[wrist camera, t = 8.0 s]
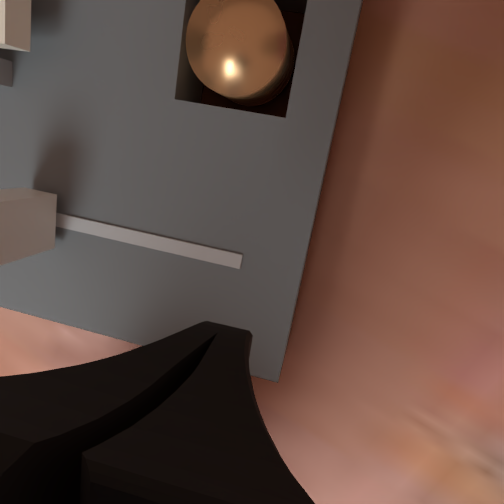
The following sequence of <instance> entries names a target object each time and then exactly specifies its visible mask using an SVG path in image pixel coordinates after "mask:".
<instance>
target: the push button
mask: <svg viewBox="0 0 504 504" xmlns="http://www.w3.org/2000/svg"><path fill="white" fill-rule="evenodd" d="M186 51H187V56H188V60H189V63H190V65H191V68H192V69H193V71H194V73H195V74H196V76H197V77H198V78H199V80H200V81H201V82H202V83H203V84H204V85H206V86H207V87H208V88H210V89H212V90H213V91H215V92H217V93H219V94H221V95H222V96H224V97H226V98H228V99H229V100H231V101H233V102H235V103H237V104H240V105H244V106H257V105H261V104H264V103H267V102H269V101H271V100H272V99H274V98H275V97H276V96H277V95H279V94H280V93H281V91H282V90H283V89H284V88H285V86H286V85H287V83H288V81H289V79H290V77H291V74H292V71H293V67H294V49H293V45H292V41H291V39H290V36H289V33H288V30H287V28H286V25H285V22H284V20H283V17H282V14H281V12H280V10H279V8H278V6H277V4H276V3H275V2H274V0H200V2H199V3H198V4H197V6H196V7H195V9H194V11H193V12H192V15H191V17H190V19H189V23H188V26H187V31H186Z"/></svg>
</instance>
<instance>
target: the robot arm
mask: <svg viewBox="0 0 504 504" xmlns="http://www.w3.org/2000/svg"><path fill="white" fill-rule="evenodd" d="M252 338H253V335H252V334H251V332H250V331H249V330H245V329H240V328H236V327H231V326H227V325H223V324H218V323H214V322H210V321H204V322H201V323H198V324H196V325H193V326H191V327H189V328H186V329H184V330H182V331H179V332H177V333H175V334H172V335H170V336H168V337H165V338H163V339H160V340H158V341H155V342H153V343H150V344H147V345H144V346H142V347H139V348H136V349H134V350H131V351H128V352H125V353H122V354H119V355H116V356H112V357H109V358H105V359H101V360H97V361H93V362H89V363H85V364H81V365H76V366H70V367H65V368H59V369H54V370H48V371H43V372H37V373H29V374H21V375H13V376H3V377H0V504H315V503H314V502H313V501H312V499H311V498H310V497H309V495H308V494H307V493H306V492H305V490H304V489H303V488H302V486H301V485H300V484H299V483H298V481H297V480H296V479H295V478H294V476H293V475H292V474H291V472H290V470H289V469H288V467H287V466H286V464H285V463H284V461H283V459H282V458H281V456H280V454H279V452H278V450H277V448H276V446H275V444H274V442H273V440H272V439H271V437H270V435H269V433H268V431H267V429H266V426H265V424H264V421H263V419H262V416H261V414H260V411H259V408H258V405H257V402H256V398H255V395H254V391H253V386H252V382H251V376H250V369H249V356H250V350H251V344H252Z"/></svg>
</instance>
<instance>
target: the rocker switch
mask: <svg viewBox="0 0 504 504" xmlns="http://www.w3.org/2000/svg"><path fill="white" fill-rule="evenodd" d="M30 38H31V0H0V48H3V49H11V50H19V51H27V52H30Z"/></svg>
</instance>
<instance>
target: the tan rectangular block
mask: <svg viewBox="0 0 504 504" xmlns="http://www.w3.org/2000/svg"><path fill="white" fill-rule="evenodd" d="M56 206H57V194H52V193H48V192H43V191H39V190H34V189H29V188H25V187H22V188H11V189H0V265H3V264H7V263H10V262H13V261H16V260H19V259H22V258H25V257H29V256H32V255H35V254H38V253H41V252H44V251H47V250H51V249H54V248H55V229H56Z"/></svg>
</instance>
